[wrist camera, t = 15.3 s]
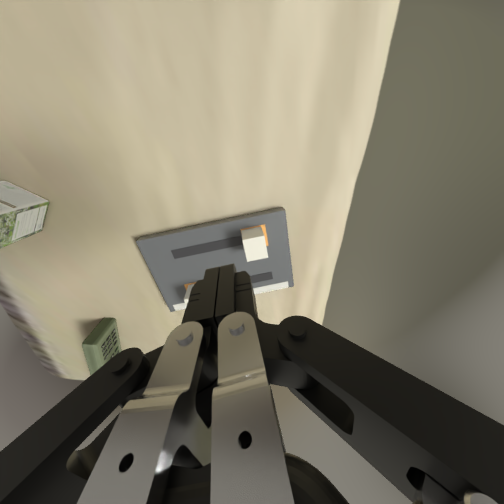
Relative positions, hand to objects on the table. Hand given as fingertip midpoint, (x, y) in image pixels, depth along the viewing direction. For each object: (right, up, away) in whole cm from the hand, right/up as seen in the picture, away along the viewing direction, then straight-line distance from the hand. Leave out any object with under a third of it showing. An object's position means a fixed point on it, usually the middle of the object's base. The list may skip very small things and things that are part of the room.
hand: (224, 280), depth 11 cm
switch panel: (-4, 0, +26) cm, 26 cm away
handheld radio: (-29, -23, +35) cm, 51 cm away
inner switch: (+2, +4, +22) cm, 22 cm away
